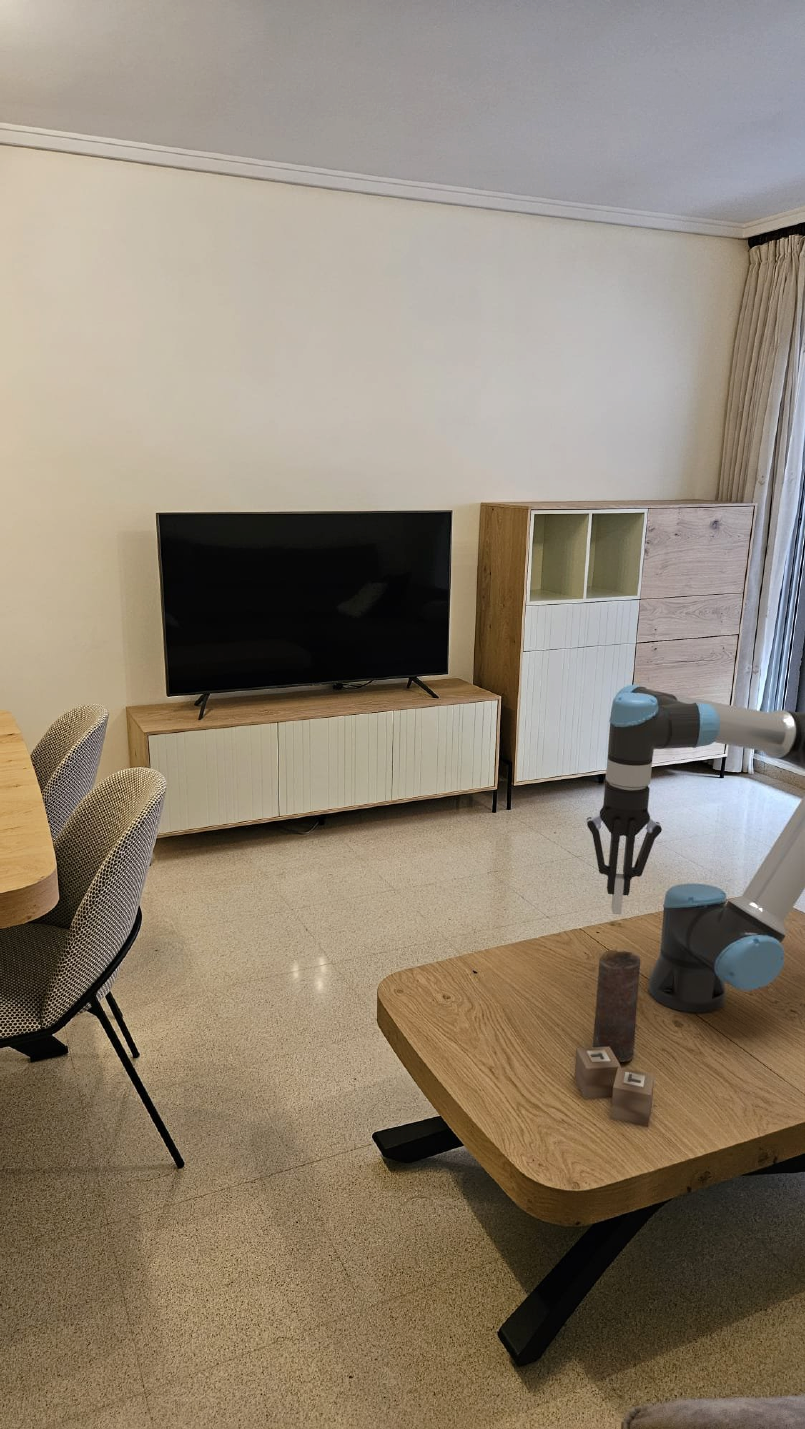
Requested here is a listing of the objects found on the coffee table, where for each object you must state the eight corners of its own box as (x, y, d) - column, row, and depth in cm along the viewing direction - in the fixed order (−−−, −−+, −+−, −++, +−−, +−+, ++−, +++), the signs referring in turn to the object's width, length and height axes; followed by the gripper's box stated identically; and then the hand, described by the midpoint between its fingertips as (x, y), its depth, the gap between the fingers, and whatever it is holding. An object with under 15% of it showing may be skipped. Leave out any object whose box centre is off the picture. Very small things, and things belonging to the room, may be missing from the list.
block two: (607, 1076, 173) (609, 1043, 172) (618, 1097, 167) (621, 1063, 166) (574, 1078, 172) (576, 1045, 171) (584, 1099, 167) (586, 1065, 165)
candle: (624, 1072, 174) (632, 970, 169) (585, 1059, 178) (592, 959, 173) (638, 1052, 181) (647, 952, 176) (600, 1040, 184) (607, 942, 180)
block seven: (651, 1105, 165) (654, 1071, 164) (648, 1127, 160) (651, 1092, 158) (615, 1098, 167) (618, 1064, 166) (610, 1119, 162) (613, 1084, 160)
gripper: (663, 779, 172) (651, 905, 177) (587, 774, 173) (577, 899, 179) (669, 792, 164) (656, 923, 170) (590, 787, 166) (579, 916, 171)
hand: (616, 910), depth 174 cm, fingers closed
